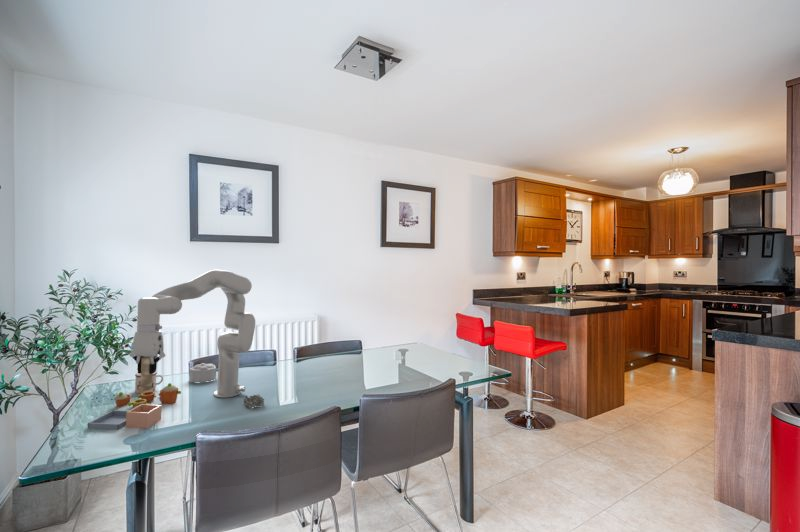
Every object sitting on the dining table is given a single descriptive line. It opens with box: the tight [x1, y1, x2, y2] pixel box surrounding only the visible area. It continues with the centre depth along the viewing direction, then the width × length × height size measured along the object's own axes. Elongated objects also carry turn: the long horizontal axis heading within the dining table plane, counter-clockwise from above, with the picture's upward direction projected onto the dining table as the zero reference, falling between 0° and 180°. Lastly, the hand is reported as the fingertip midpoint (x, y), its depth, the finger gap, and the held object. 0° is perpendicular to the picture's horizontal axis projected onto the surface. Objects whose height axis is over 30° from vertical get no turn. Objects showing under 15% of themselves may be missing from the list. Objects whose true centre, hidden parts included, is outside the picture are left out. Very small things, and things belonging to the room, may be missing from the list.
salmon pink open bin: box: [125, 403, 163, 429], centre depth 152 cm, size 9×9×7 cm
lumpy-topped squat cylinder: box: [188, 362, 217, 383], centre depth 210 cm, size 10×13×9 cm
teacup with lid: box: [134, 371, 164, 394], centre depth 191 cm, size 12×9×12 cm
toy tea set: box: [113, 382, 182, 409], centre depth 174 cm, size 26×16×10 cm, turn 134°
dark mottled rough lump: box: [242, 393, 265, 409], centre depth 179 cm, size 11×8×4 cm
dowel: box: [140, 356, 153, 391], centre depth 152 cm, size 4×4×13 cm
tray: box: [87, 409, 129, 431], centre depth 152 cm, size 12×13×3 cm
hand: (146, 372), depth 152 cm, fingers closed on dowel, 4 cm apart
